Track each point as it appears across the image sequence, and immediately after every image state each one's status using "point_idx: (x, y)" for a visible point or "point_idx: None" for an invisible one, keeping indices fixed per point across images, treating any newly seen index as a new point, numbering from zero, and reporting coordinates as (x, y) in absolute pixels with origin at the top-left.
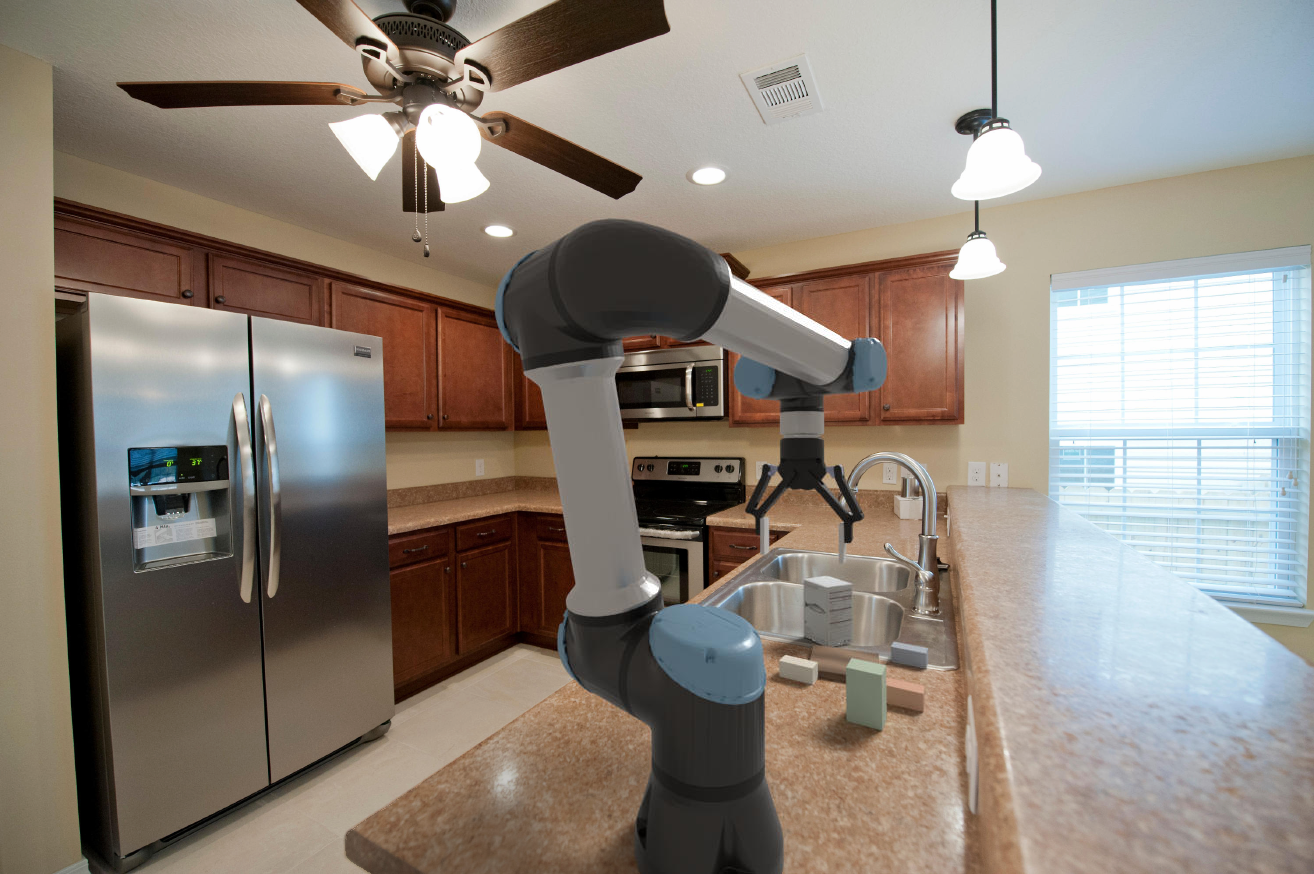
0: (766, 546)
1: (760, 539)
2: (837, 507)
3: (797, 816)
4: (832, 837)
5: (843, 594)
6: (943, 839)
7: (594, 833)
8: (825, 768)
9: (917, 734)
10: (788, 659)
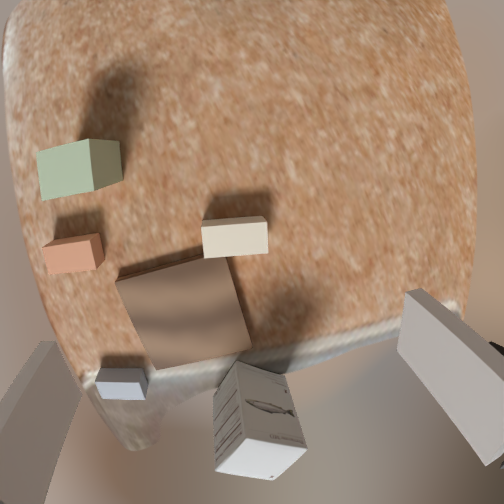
0: (419, 338)
1: (464, 324)
2: None
3: None
4: None
5: (224, 445)
6: (16, 23)
7: None
8: (114, 24)
9: None
10: (254, 237)
